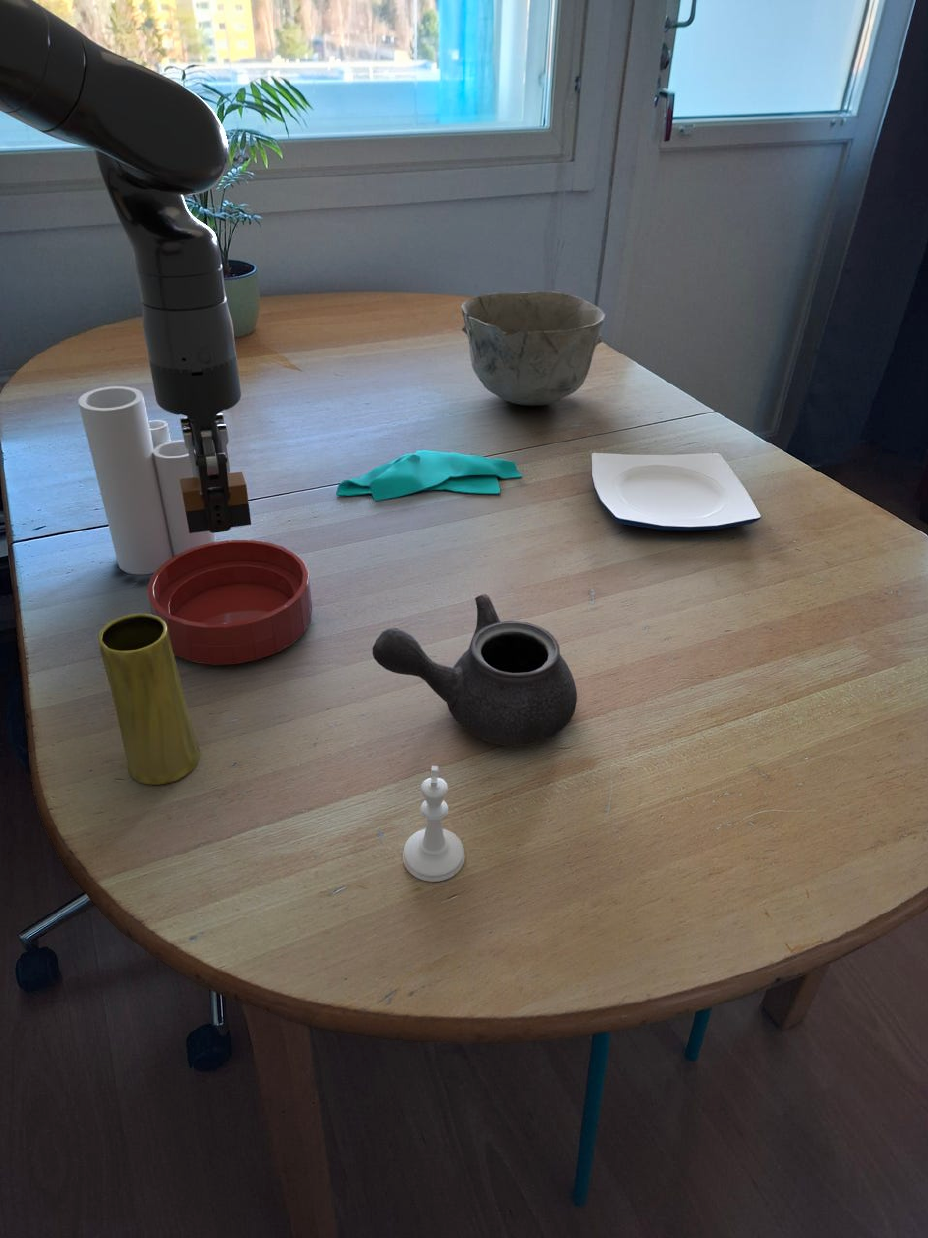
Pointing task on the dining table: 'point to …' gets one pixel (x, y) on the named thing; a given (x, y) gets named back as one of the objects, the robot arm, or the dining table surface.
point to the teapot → (494, 678)
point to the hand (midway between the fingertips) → (217, 520)
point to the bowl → (531, 343)
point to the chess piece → (433, 837)
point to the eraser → (197, 510)
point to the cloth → (431, 475)
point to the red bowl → (232, 600)
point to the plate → (672, 491)
